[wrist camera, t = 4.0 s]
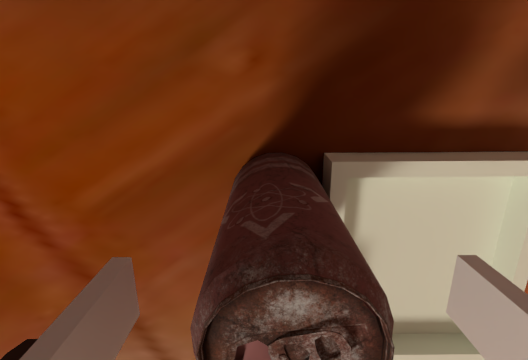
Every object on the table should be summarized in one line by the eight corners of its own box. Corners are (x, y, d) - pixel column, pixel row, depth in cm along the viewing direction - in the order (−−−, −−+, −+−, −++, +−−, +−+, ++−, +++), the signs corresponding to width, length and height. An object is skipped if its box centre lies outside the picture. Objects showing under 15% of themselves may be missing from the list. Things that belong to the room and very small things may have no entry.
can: (214, 205, 22) (137, 395, 8) (264, 133, 20) (267, 225, 7) (282, 247, 23) (310, 476, 9) (335, 182, 21) (457, 344, 8)
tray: (323, 152, 21) (332, 161, 18) (527, 151, 21) (563, 160, 18) (313, 338, 25) (319, 365, 23) (479, 337, 25) (502, 364, 23)
